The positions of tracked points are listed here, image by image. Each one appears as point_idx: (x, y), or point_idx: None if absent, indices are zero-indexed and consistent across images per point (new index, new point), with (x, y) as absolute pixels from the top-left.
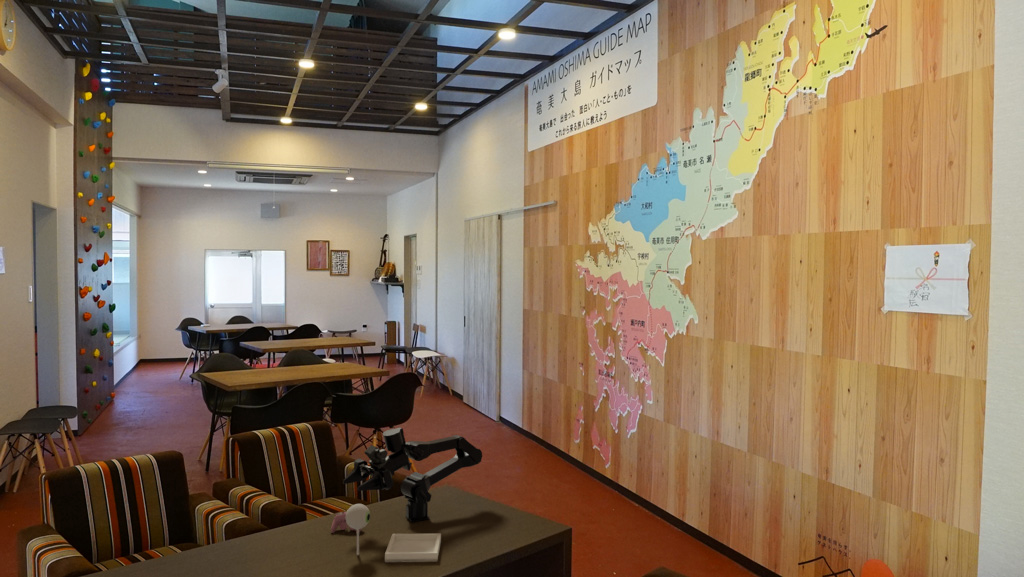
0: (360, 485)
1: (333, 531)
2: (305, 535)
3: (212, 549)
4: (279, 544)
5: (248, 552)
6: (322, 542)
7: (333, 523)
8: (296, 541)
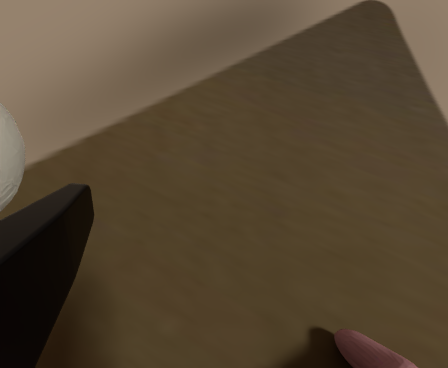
0: (57, 200)
1: (337, 344)
2: (375, 247)
3: (397, 69)
4: (337, 159)
5: (328, 98)
6: (258, 253)
7: (365, 341)
8: (331, 200)
